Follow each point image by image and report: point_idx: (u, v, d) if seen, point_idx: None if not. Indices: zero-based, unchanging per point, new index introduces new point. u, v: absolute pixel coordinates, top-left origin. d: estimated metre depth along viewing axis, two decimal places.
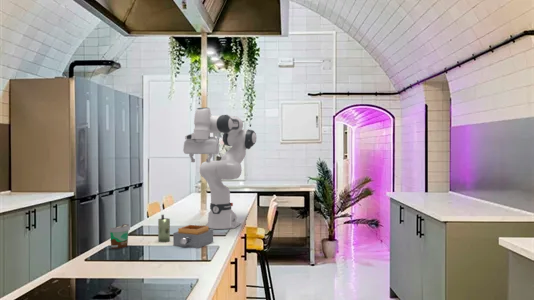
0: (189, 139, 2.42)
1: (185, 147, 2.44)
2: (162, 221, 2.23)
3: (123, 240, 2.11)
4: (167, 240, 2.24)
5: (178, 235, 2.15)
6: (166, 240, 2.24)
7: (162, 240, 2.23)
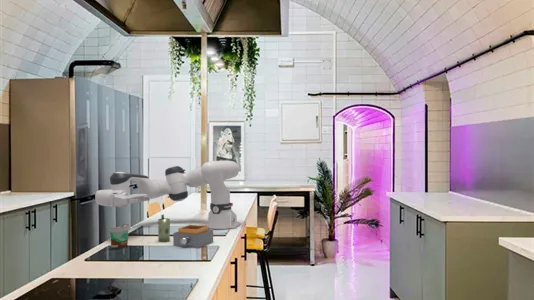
0: (117, 194, 2.30)
1: (119, 197, 2.25)
2: (162, 221, 2.23)
3: (123, 240, 2.11)
4: (167, 240, 2.24)
5: (178, 235, 2.15)
6: (166, 240, 2.24)
7: (162, 240, 2.23)
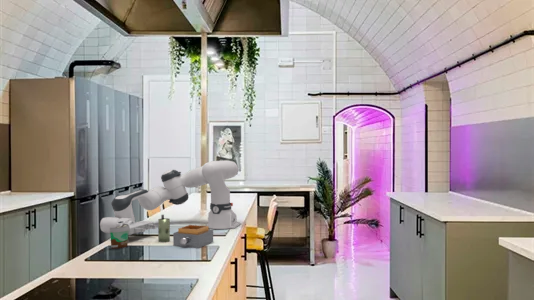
0: (122, 222, 2.28)
1: None
2: (162, 221, 2.23)
3: (123, 240, 2.11)
4: (167, 240, 2.24)
5: (178, 235, 2.15)
6: (166, 240, 2.24)
7: (162, 240, 2.23)
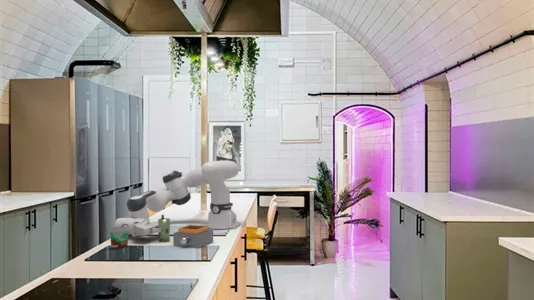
0: (138, 223, 2.25)
1: (141, 227, 2.20)
2: (162, 221, 2.23)
3: (123, 240, 2.11)
4: (167, 240, 2.24)
5: (178, 235, 2.15)
6: (166, 240, 2.24)
7: (162, 240, 2.23)
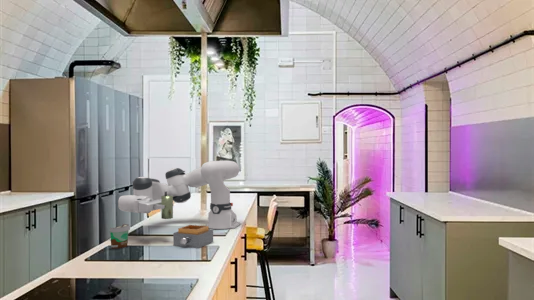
0: (141, 199, 2.23)
1: (144, 203, 2.19)
2: (165, 198, 2.22)
3: (123, 240, 2.11)
4: (170, 217, 2.23)
5: (178, 235, 2.15)
6: (169, 217, 2.22)
7: (165, 217, 2.22)
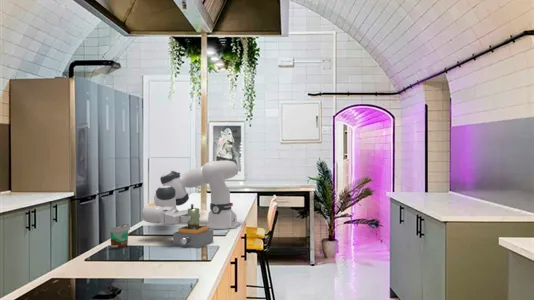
0: (167, 211, 2.18)
1: (171, 214, 2.14)
2: (192, 211, 2.17)
3: (123, 240, 2.11)
4: None
5: (178, 235, 2.15)
6: None
7: None
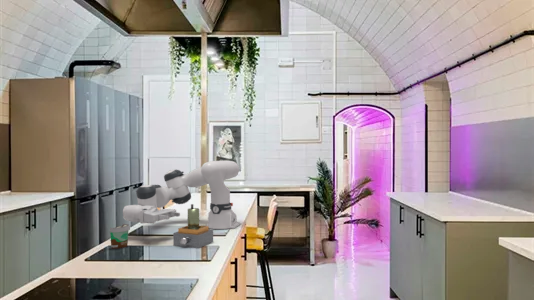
0: (146, 210, 2.22)
1: (150, 213, 2.18)
2: (192, 211, 2.17)
3: (123, 240, 2.11)
4: None
5: (178, 235, 2.15)
6: None
7: None
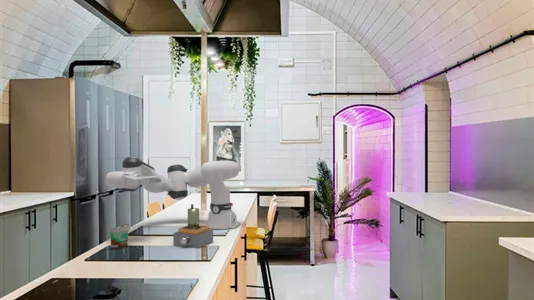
0: (128, 175, 2.27)
1: (131, 177, 2.22)
2: (192, 211, 2.17)
3: (123, 240, 2.11)
4: None
5: (178, 235, 2.15)
6: None
7: None
